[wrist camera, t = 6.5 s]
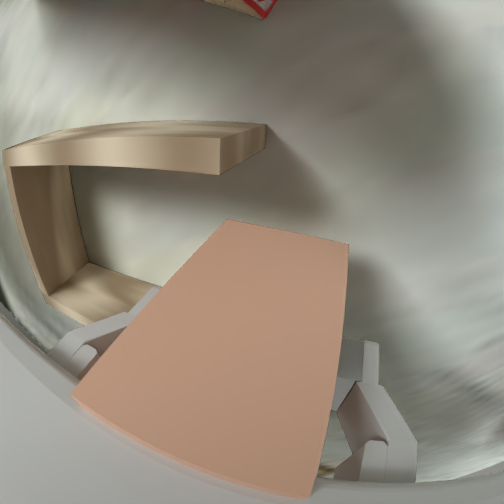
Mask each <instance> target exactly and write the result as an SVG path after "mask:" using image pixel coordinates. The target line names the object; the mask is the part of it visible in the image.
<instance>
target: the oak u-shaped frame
mask: <svg viewBox="0 0 504 504" xmlns="http://www.w3.org/2000/svg"><path fill="white" fill-rule="evenodd" d="M265 139H266V125H264V124H253V123H239V122H221V121H147V122H130V123H116V124H106V125H96V126H88V127H80V128H73V129H66V130H60V131H56V132H52V133H49V134H46V135H43V136H40V137H37V138H34V139H31V140H28V141H25V142H23V143H20V144H17V145H15V146H12V147H10V148H7V149H5V150H2V154H3V161H4V167H5V173H6V178H7V184H8V189H9V193H10V198H11V202H12V206H13V210H14V214H15V218H16V222H17V225H18V229H19V232H20V235H21V238H22V242H23V245H24V248H25V251H26V254H27V256H28V259H29V262H30V265H31V267H32V270H33V273H34V275H35V278H36V280H37V283H38V285H39V287H40V290H41V292H42V294H43V297H44V299H45V301H46V303H48V304H49V305H51V306H52V307H54V308H56V309H57V310H59V311H60V312H62V313H64V314H65V315H67V316H69V317H70V318H72V319H74V320H76V321H77V322H79V323H81V324H83V325H84V326H86V325H89V324H91V323H94V322H97V321H100V320H103V319H106V318H108V317H111V316H114V315H117V314H120V313H123V312H127V313H128V312H129V311H130V310H131V309H132V308H133V307H134V306H135V305H136V304H137V303H138V302H139V301H140V300H141V299H142V297H143V296H144V295H145V294H146V293H147V292H148V291H149V290H150V289H151V288H152V287H154V286H156V285H153V284H150V283H147V282H144V281H141V280H138V279H135V278H132V277H129V276H126V275H123V274H120V273H117V272H114V271H112V270H109V269H106V268H103V267H100V266H98V265H95V264H92V263H89V261H88V257H87V253H86V250H85V246H84V242H83V238H82V234H81V230H80V225H79V221H78V216H77V211H76V206H75V201H74V196H73V190H72V184H71V177H70V171H69V165H83V166H114V167H133V168H148V169H161V170H173V171H184V172H194V173H203V174H212V175H221V174H222V173H224V172H226V171H227V170H229V169H231V168H232V167H234V166H236V165H237V164H239V163H241V162H242V161H244V160H246V159H247V158H249V157H251V156H252V155H254V154H256V153H258V152H259V151H261V150H263V149H264V148H265Z"/></svg>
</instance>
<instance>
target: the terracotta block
mask: <svg viewBox="0 0 504 504" xmlns="http://www.w3.org/2000/svg"><path fill="white" fill-rule="evenodd" d="M348 253H349V244H345V243H340V242H336V241H331V240H326V239H322V238H317V237H312V236H308V235H303V234H298V233H293V232H288V231H283V230H279V229H274V228H269V227H264V226H258V225H253V224H248V223H243V222H238V221H233V220H226V221H225V222H224V223H223V224H222V225H221V226H220V227H219V228H218V229H217V230H216V231H215V232H214V233H213V234H212V236H211V237H210V238H209V239H208V240H207V241H206V242H205V243H204V244H203V245H202V246H201V247H200V248H199V249H198V250H197V251H196V252H195V253H194V254H193V255H192V256H191V257H190V258H189V259H188V261H187V262H186V263H185V264H184V265H183V266H182V267H181V268H180V269H179V270H178V271H177V272H176V273H175V274H174V275H173V276H172V278H171V279H170V280H169V281H168V282H167V283H166V284H165V285H164V286H163V287H162V288H161V289H160V291H159V292H158V293H157V294H156V295H155V296H154V297H153V298H152V299H151V300H150V301H149V303H148V304H147V305H146V306H145V307H144V308H143V309H142V310H141V311H140V313H139V314H138V315H137V316H136V317H135V318H134V319H133V320H132V322H131V323H130V324H129V325H128V326H127V327H126V328H125V330H124V331H123V332H122V333H121V334H120V335H119V336H118V338H117V339H116V340H115V341H114V342H113V343H112V344H111V346H110V347H109V348H108V349H107V350H106V351H105V353H104V354H103V355H102V356H101V357H100V358H99V360H98V361H97V362H96V363H95V364H94V366H93V367H92V368H91V369H90V370H89V372H88V373H87V374H86V375H85V376H84V378H83V379H82V380H81V381H80V382H79V384H78V385H77V386H76V387H75V389H74V390H73V391H72V392H71V396H72V397H73V398H74V399H75V401H76V402H77V403H78V404H79V405H80V406H81V407H83V408H84V409H86V410H87V411H88V412H90V413H91V414H93V415H94V416H96V417H97V418H99V419H100V420H102V421H103V422H105V423H106V424H108V425H109V426H111V427H113V428H114V429H116V430H118V431H119V432H121V433H123V434H124V435H126V436H128V437H129V438H131V439H133V440H135V441H137V442H138V443H140V444H142V445H144V446H146V447H148V448H150V449H152V450H154V451H156V452H158V453H160V454H162V455H164V456H166V457H168V458H170V459H172V460H174V461H177V462H179V463H181V464H183V465H186V466H188V467H191V468H193V469H195V470H198V471H201V472H203V473H206V474H208V475H211V476H214V477H217V478H219V479H222V480H225V481H228V482H231V483H235V484H238V485H241V486H244V487H248V488H252V489H255V490H259V491H263V492H267V493H271V494H275V495H280V496H285V497H290V498H295V499H300V500H304V499H306V498H308V497H310V494H311V491H312V488H313V484H314V480H315V477H316V473H317V469H318V466H319V462H320V458H321V453H322V449H323V445H324V441H325V436H326V432H327V427H328V422H329V417H330V412H331V407H332V401H333V395H334V390H335V384H336V377H337V371H338V364H339V357H340V349H341V341H342V332H343V323H344V313H345V302H346V289H347V273H348Z"/></svg>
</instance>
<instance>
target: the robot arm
mask: <svg viewBox="0 0 504 504" xmlns="http://www.w3.org/2000/svg"><path fill="white" fill-rule="evenodd" d="M161 288H162V287H159V286H154V287H152V288H151V289H150V290H149V291H148V292H147V293H146V294H145V295H144V296H143V297H142V299H141V300H140V301H139V302H138V303H137V304H136V305H135V306H134V307H133V308H132V309H131V310H130V311H129V312H128V313H127V312H123V313H120V314H117V315H114V316H111V317H108V318H106V319H103V320H100V321H97V322H94V323H91V324H89V325H86V326H83V327H80V328H77V329H74V330H71V331H69V332H68V333H67V334H66V335H65V336H64V337H63V338H62V339H61V340H60V341H59V342H58V343H57V344H56V345H55V346H54V347H53V348H52V349H51V350H50V351H49V352H48V354H47V355H46V354H44V353H43V352H42V351H41V350H39V348H37V347H36V346H35V345H34V344H33V343H32V342H31V341H29V340H28V339H27V338H26V337H25V336H24V335H23V334H22V333H20V332H19V331H18V330H17V329H16V328H15V327H14V326H13V325H12V324H11V323H10V322H9V321H8V320H7V319H6V318H5V317H4V316H3V315H2V314H1V313H0V504H504V470H502V471H498V472H494V473H490V474H485V475H480V476H474V477H469V478H462V479H454V480H446V481H435V482H419V483H415V480H416V469H417V452H418V442H417V440H416V439H415V437H414V435H413V434H412V432H411V430H410V428H409V427H408V425H407V424H406V422H405V420H404V419H403V417H402V415H401V414H400V412H399V410H398V409H397V407H396V406H395V404H394V402H393V401H392V399H391V397H390V396H389V394H388V393H387V391H386V390H385V388H384V386H382V385H379V344H378V343H377V342H372V341H366V340H361V339H356V338H350V337H345V336H342V341H341V349H340V357H339V364H338V371H337V377H336V384H335V390H334V395H333V401H332V407H331V410H334V411H337V415H338V417H339V420H340V422H341V425H342V428H343V430H344V433H345V435H346V438H347V441H348V443H349V446H350V448H351V451H352V454H353V455H351V456H350V457H349V458H348V459H346V460H345V461H344V462H343V463H341V464H340V465H339V466H337V467H336V471H335V475H334V479H331V478H324V477H317V476H316V477H315V480H314V484H313V488H312V491H311V494H310V497H308V498H306V499H304V500H300V499H295V498H290V497H285V496H280V495H275V494H271V493H267V492H263V491H259V490H255V489H252V488H248V487H244V486H241V485H238V484H235V483H231V482H228V481H225V480H222V479H219V478H217V477H214V476H211V475H208V474H206V473H203V472H201V471H198V470H195V469H193V468H191V467H188V466H186V465H183V464H181V463H179V462H177V461H174V460H172V459H170V458H168V457H166V456H164V455H162V454H160V453H158V452H156V451H154V450H152V449H150V448H148V447H146V446H144V445H142V444H140V443H138V442H137V441H135V440H133V439H131V438H129V437H128V436H126V435H124V434H123V433H121V432H119V431H118V430H116V429H114V428H113V427H111V426H109V425H108V424H106V423H105V422H103V421H102V420H100V419H99V418H97V417H96V416H94V415H93V414H91V413H90V412H88V411H87V410H86V409H84V408H83V407H81V406H80V405H79V404H78V403H77V402H76V401H75V399H74V398H73V397H72V396H71V392H72V391H73V390H74V389H75V387H76V386H77V385H78V384H79V382H80V381H81V380H82V379H83V378H84V376H85V375H86V374H87V373H88V372H89V370H90V369H91V368H92V367H93V366H94V364H95V363H96V362H97V361H98V360H99V358H100V357H101V356H102V355H103V354H104V353H105V351H106V350H107V349H108V348H109V347H110V346H111V344H112V343H113V342H114V341H115V340H116V339H117V338H118V336H119V335H120V334H121V333H122V332H123V331H124V330H125V328H126V327H127V326H128V325H129V324H130V323H131V322H132V320H133V319H134V318H135V317H136V316H137V315H138V314H139V313H140V311H141V310H142V309H143V308H144V307H145V306H146V305H147V304H148V303H149V301H150V300H151V299H152V298H153V297H154V296H155V295H156V294H157V293H158V292H159V291H160V289H161Z"/></svg>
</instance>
